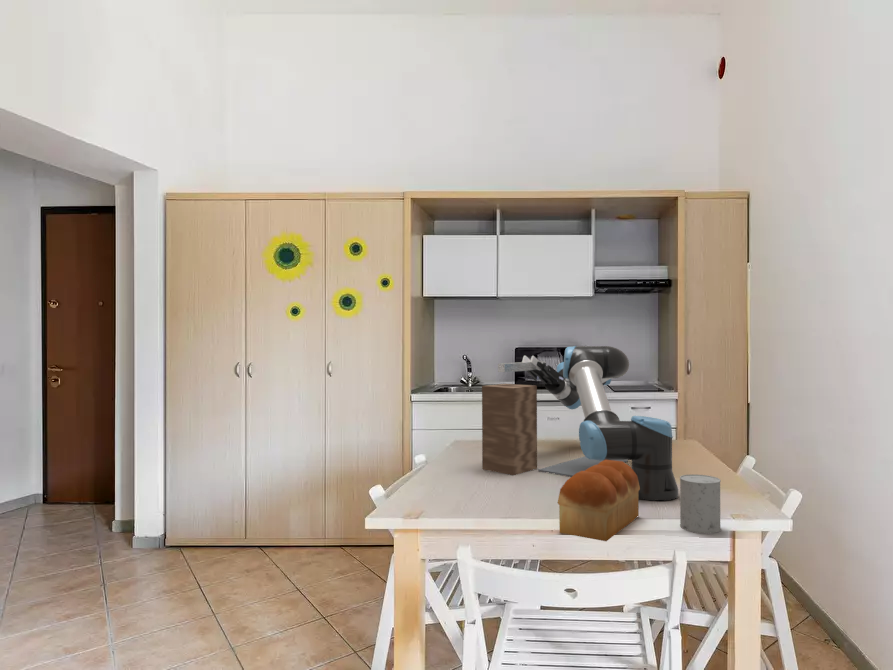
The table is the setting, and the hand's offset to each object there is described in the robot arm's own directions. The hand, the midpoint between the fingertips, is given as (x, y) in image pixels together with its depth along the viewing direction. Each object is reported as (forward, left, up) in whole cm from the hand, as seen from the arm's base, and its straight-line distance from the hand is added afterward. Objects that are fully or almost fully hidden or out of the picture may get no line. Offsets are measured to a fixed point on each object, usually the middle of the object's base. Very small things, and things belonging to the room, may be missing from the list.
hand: (527, 358), depth 239 cm
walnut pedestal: (-13, +4, -39) cm, 42 cm away
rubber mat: (0, -21, -39) cm, 44 cm away
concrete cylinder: (-65, -57, -39) cm, 95 cm away
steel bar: (-3, +1, -4) cm, 5 cm away
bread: (-70, -33, -40) cm, 87 cm away
